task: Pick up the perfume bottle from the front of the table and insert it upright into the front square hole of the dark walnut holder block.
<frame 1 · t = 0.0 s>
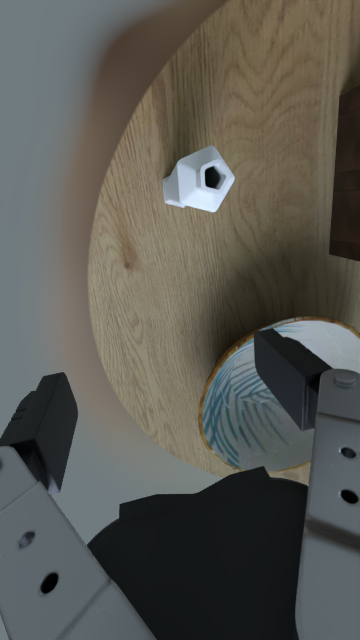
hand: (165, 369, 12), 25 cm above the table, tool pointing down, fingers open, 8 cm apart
perfume bottle: (176, 189, 33), on the table
bowl: (263, 371, 45), on the table
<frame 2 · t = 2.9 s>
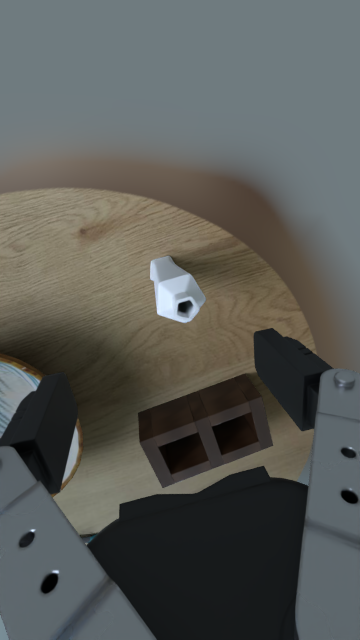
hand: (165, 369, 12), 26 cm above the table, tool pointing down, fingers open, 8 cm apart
perfume bottle: (163, 268, 36), on the table
holder: (200, 416, 46), on the table
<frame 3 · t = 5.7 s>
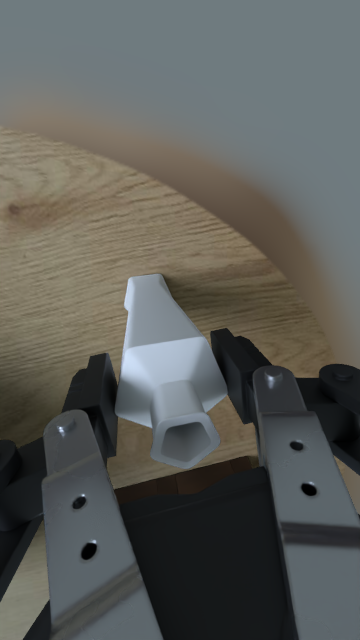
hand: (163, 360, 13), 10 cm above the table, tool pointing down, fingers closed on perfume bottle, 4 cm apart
perfume bottle: (148, 293, 22), on the table, touching gripper
holder: (172, 507, 32), on the table
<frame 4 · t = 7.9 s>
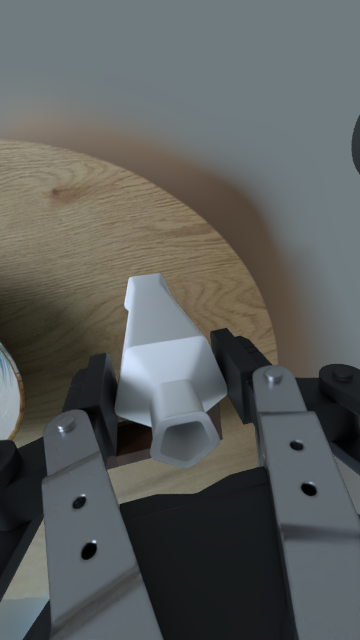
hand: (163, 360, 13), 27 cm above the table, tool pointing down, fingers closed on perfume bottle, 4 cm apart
perfume bottle: (149, 293, 22), point 16 cm above the table, touching gripper
holder: (155, 402, 46), on the table
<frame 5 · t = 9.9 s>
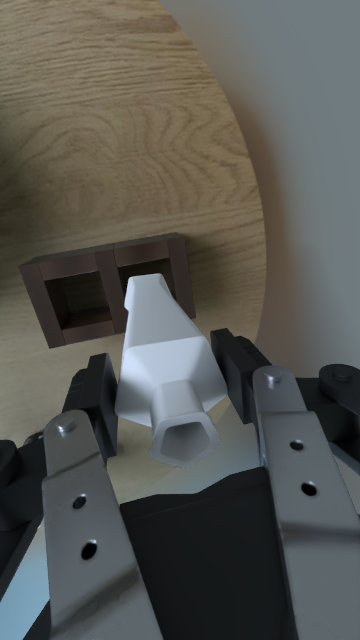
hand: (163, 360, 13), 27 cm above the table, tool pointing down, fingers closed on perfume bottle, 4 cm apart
perfume bottle: (149, 293, 22), point 16 cm above the table, touching gripper
holder: (116, 281, 38), on the table
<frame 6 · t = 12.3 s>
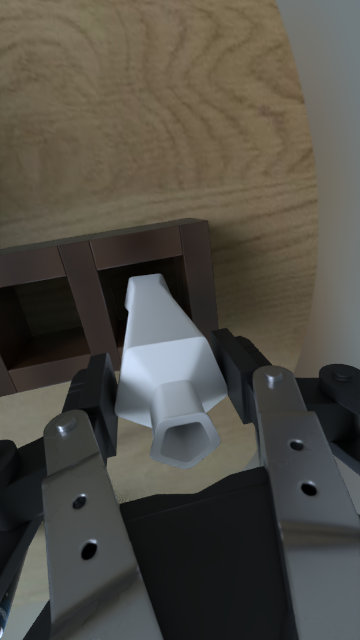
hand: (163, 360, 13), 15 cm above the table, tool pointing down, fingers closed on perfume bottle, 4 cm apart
perfume bottle: (149, 293, 22), point 4 cm above the table, touching gripper
holder: (100, 291, 25), on the table
beverage can: (8, 510, 33), on the table
when the fingers open (10 cm above the table, at t = 14.0 s): perfume bottle stays where it is, resting in holder.
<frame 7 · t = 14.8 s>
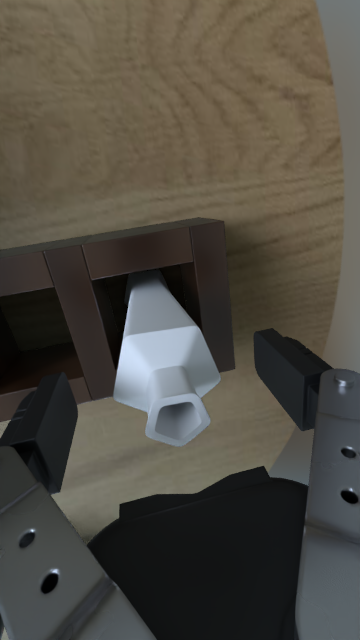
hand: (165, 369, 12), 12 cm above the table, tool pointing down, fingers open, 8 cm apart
perfume bottle: (148, 289, 23), resting in holder
holder: (97, 301, 22), on the table
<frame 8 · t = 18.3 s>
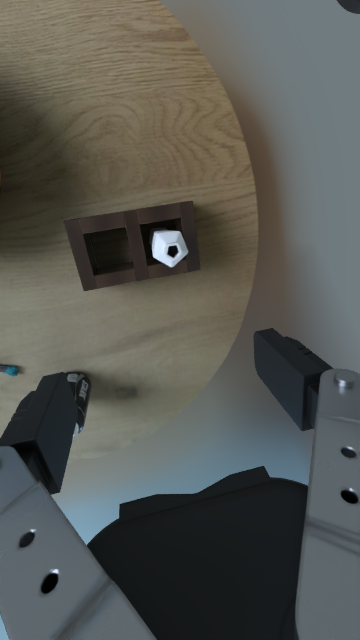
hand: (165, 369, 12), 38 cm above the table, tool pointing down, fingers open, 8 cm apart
perfume bottle: (160, 237, 47), resting in holder
holder: (135, 242, 46), on the table
beverage can: (73, 383, 54), on the table
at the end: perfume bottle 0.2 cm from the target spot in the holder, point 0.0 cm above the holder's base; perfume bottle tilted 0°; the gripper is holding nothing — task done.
